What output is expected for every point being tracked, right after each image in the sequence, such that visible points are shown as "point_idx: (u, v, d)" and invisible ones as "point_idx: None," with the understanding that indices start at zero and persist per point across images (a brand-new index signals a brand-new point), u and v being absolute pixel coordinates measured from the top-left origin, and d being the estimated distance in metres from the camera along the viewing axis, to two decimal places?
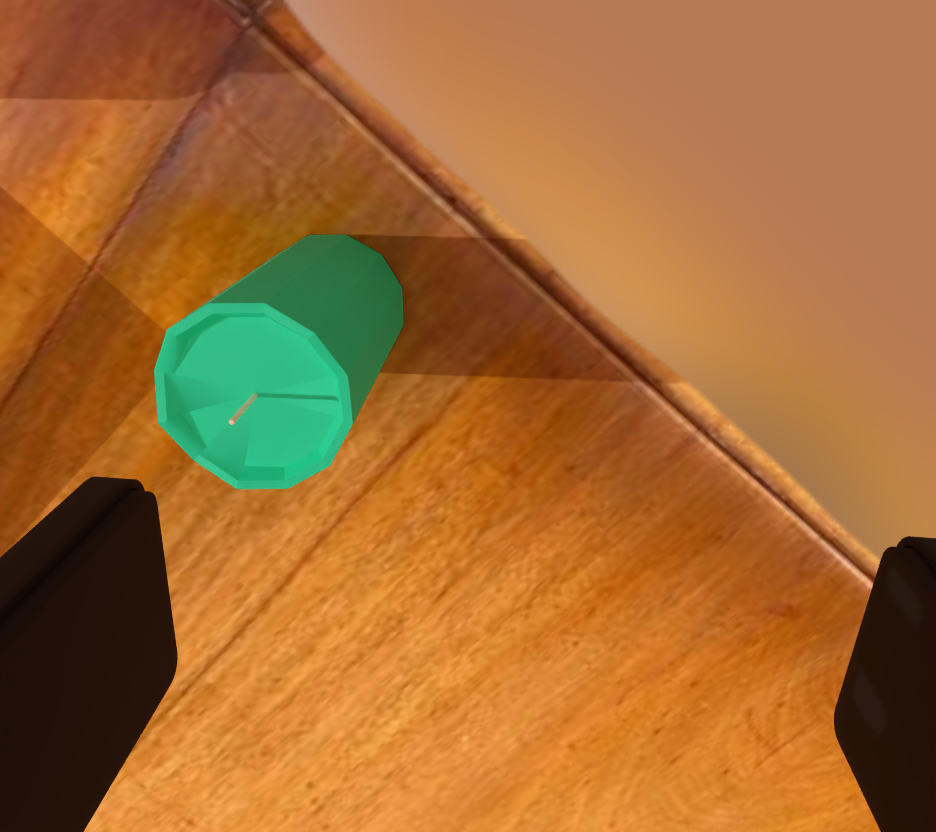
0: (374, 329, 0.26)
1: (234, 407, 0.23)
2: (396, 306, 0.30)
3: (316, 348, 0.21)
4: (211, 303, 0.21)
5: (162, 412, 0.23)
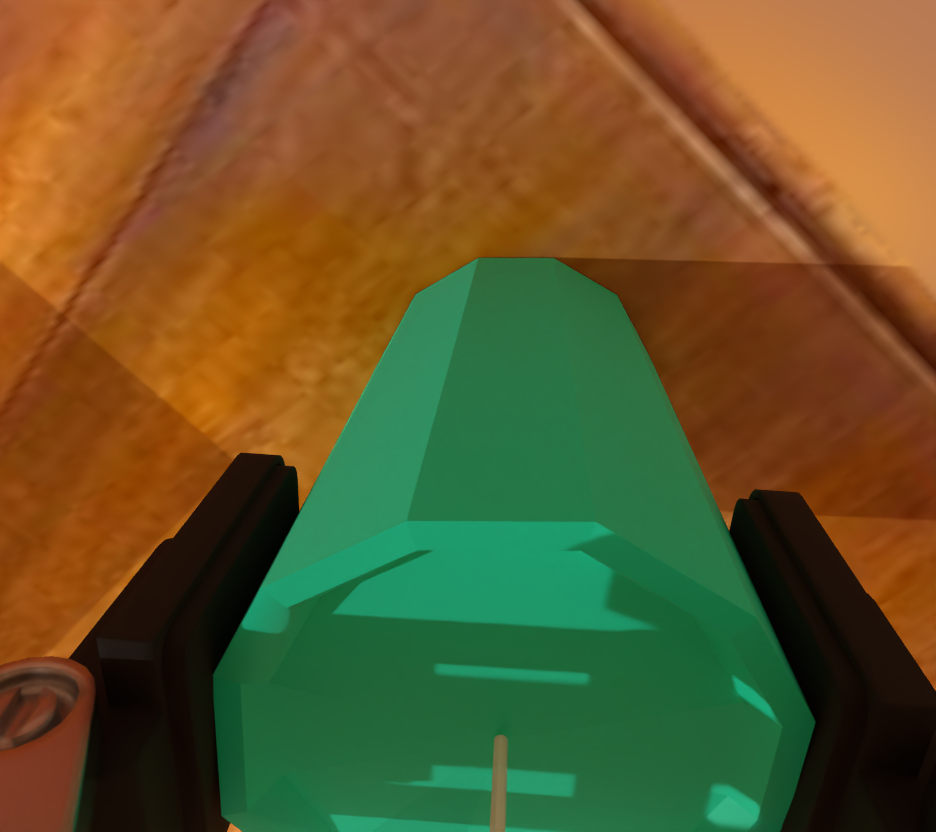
0: None
1: (435, 768, 0.08)
2: None
3: (748, 659, 0.07)
4: (413, 519, 0.06)
5: (234, 788, 0.08)
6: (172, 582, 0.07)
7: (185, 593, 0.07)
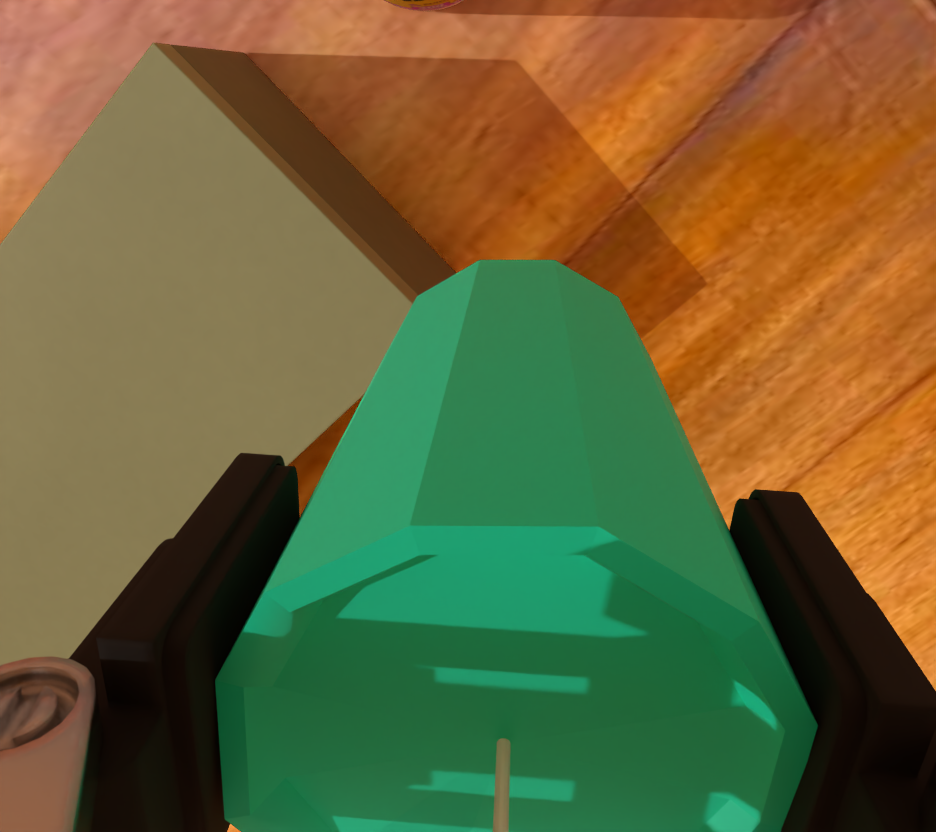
0: (711, 492, 0.11)
1: (437, 771, 0.08)
2: None
3: (750, 663, 0.07)
4: (417, 524, 0.06)
5: (237, 791, 0.08)
6: (172, 582, 0.07)
7: (186, 592, 0.07)
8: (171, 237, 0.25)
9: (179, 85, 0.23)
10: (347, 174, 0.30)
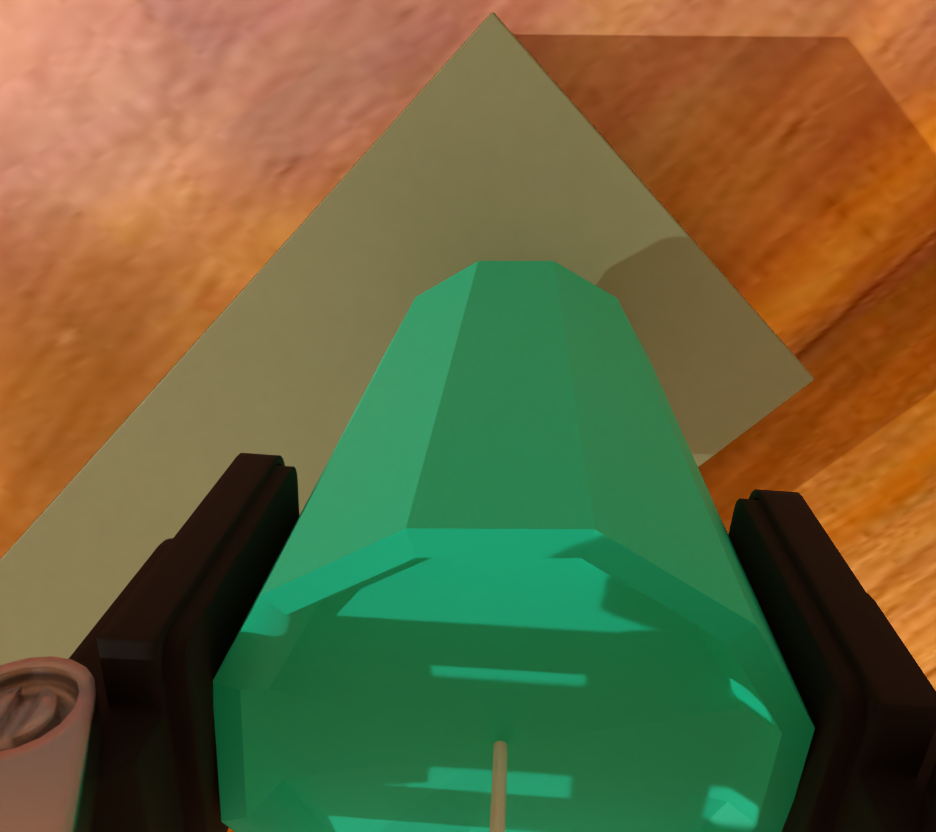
0: (709, 493, 0.11)
1: (435, 773, 0.08)
2: None
3: (747, 666, 0.07)
4: (413, 526, 0.06)
5: (234, 793, 0.08)
6: (172, 582, 0.07)
7: (185, 593, 0.07)
8: None
9: (520, 69, 0.17)
10: None
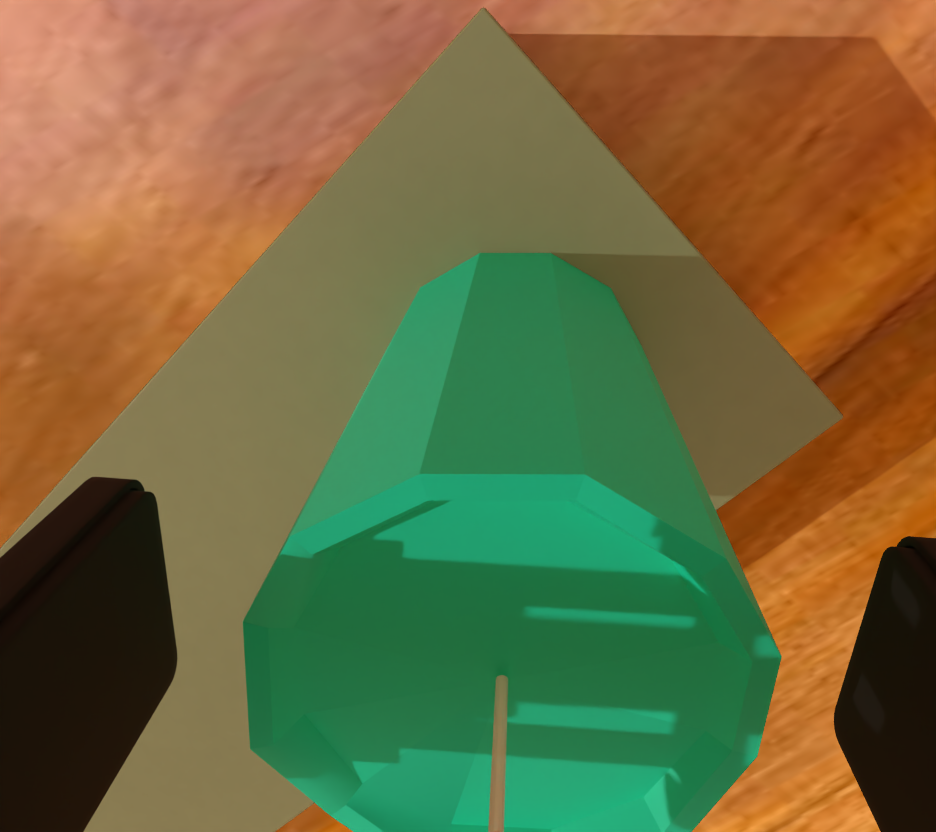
0: None
1: (442, 706, 0.09)
2: None
3: (720, 597, 0.07)
4: (425, 473, 0.07)
5: (262, 723, 0.09)
6: None
7: None
8: None
9: (515, 72, 0.15)
10: None
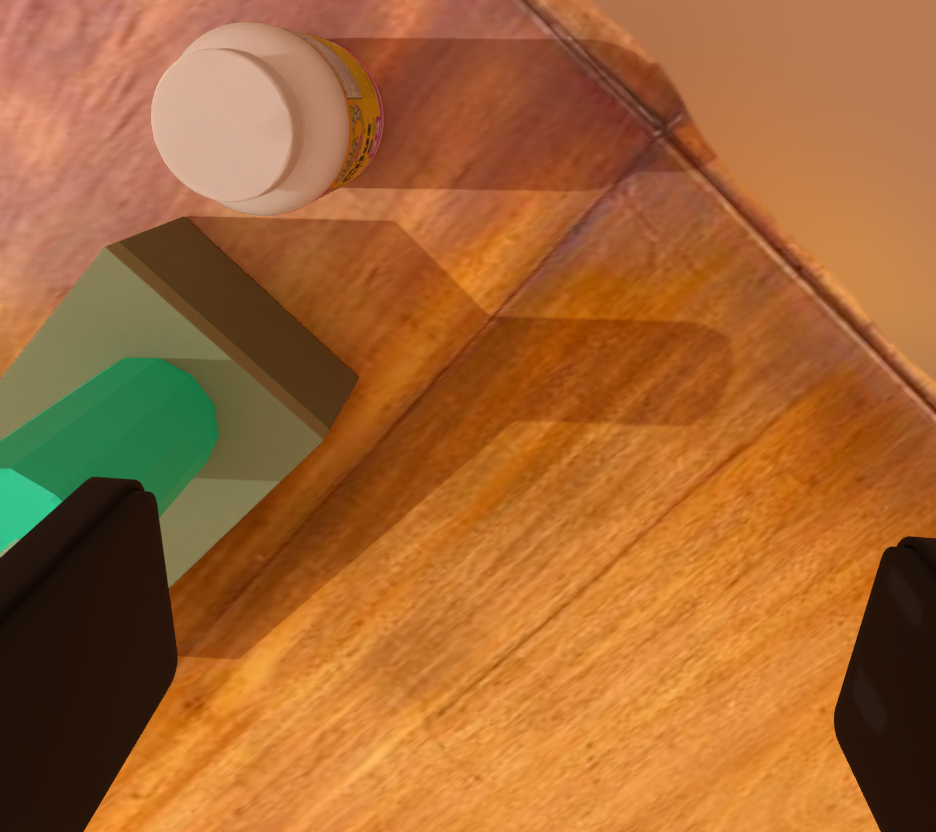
0: (152, 465, 0.28)
1: (1, 550, 0.26)
2: (201, 426, 0.33)
3: None
4: None
5: None
6: None
7: None
8: None
9: (125, 275, 0.32)
10: (265, 310, 0.39)
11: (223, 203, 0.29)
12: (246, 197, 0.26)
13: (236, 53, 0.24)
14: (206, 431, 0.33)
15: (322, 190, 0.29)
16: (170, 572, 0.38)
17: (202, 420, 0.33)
